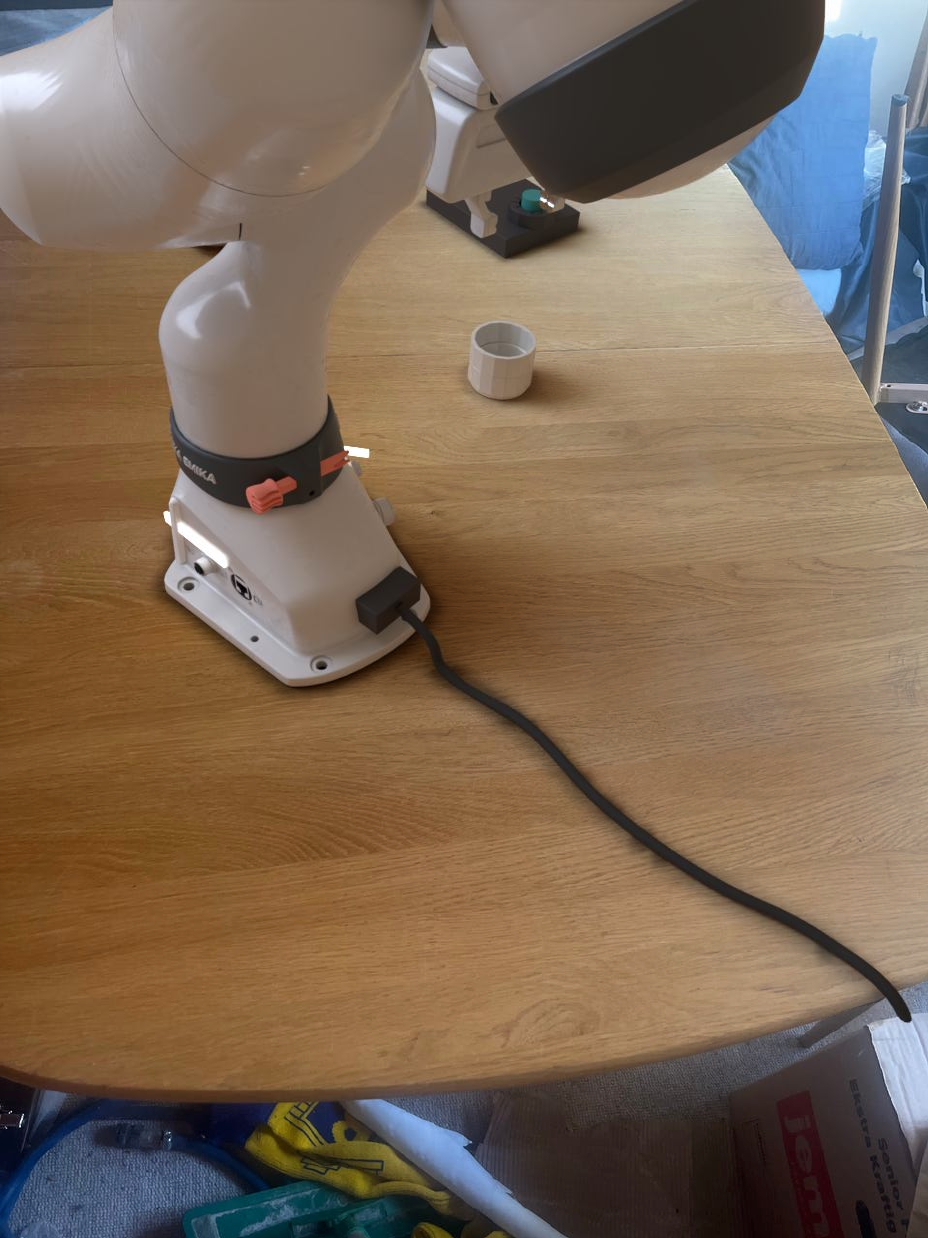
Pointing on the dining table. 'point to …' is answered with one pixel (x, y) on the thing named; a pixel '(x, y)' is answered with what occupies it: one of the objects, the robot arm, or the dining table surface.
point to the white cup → (501, 359)
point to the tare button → (531, 200)
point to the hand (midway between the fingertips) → (517, 220)
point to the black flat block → (511, 219)
